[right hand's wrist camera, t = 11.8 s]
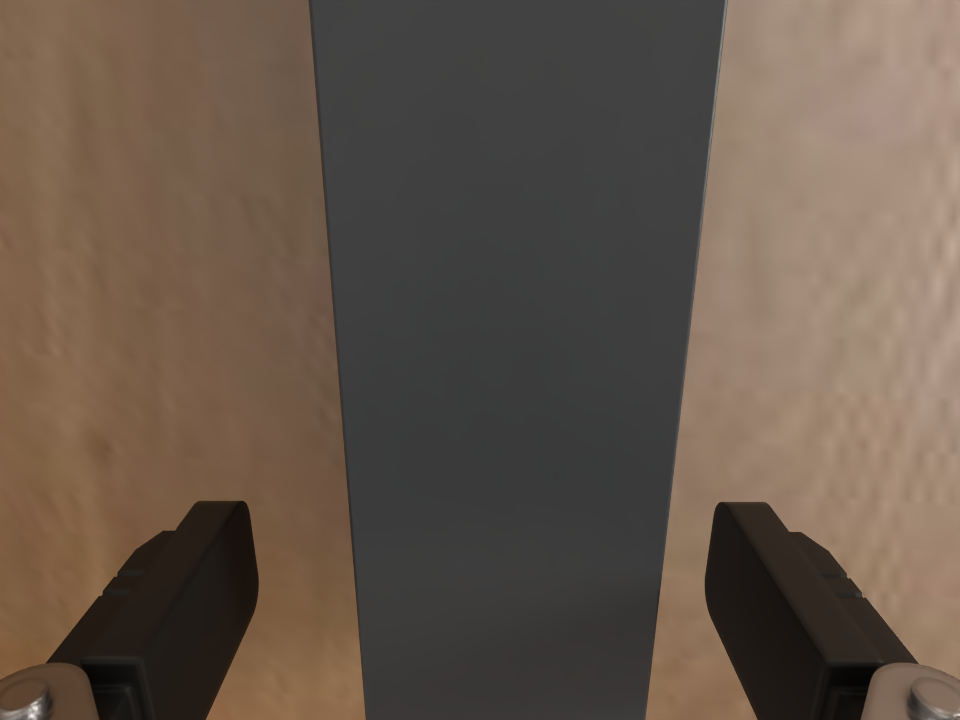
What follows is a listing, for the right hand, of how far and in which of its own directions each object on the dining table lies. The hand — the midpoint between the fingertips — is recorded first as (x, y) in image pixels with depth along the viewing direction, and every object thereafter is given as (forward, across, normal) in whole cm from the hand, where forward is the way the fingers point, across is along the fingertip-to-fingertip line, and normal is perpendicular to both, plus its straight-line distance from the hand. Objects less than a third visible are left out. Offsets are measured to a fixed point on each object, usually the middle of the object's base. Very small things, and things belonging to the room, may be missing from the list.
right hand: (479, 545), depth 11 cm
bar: (+6, 0, -33) cm, 34 cm away
